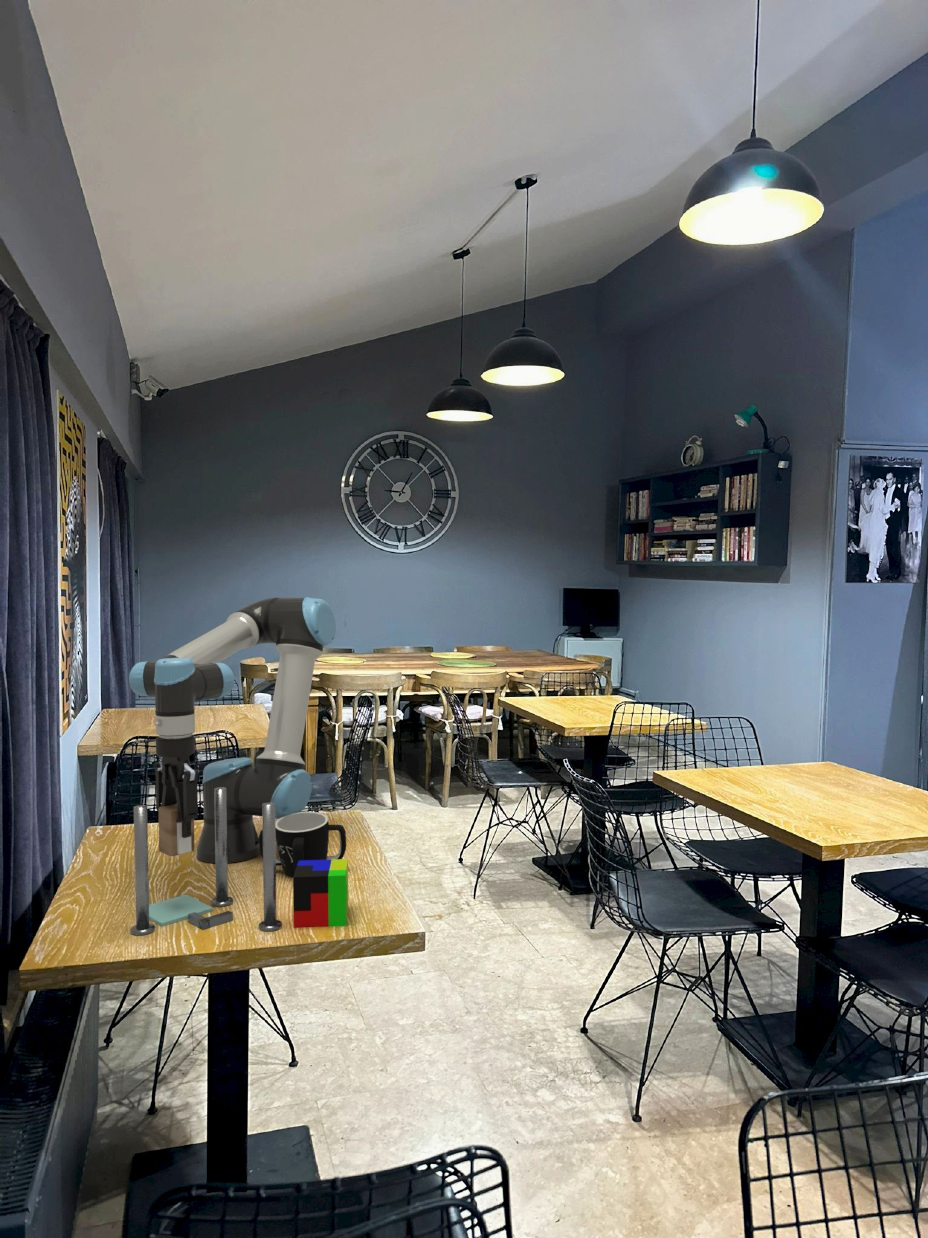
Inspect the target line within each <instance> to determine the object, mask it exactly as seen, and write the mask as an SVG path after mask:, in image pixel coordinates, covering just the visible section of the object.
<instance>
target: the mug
mask: <svg viewBox="0 0 928 1238" xmlns="http://www.w3.org/2000/svg"><path fill="white" fill-rule="evenodd" d="M329 823H330V822H329V817H328V816H327V815H326V814H323V813H320V812H317V811H301V812H298V813H293V814H290V815H286V816H284V817H281V818H280V819H276V820H275V835H276V850H277V853H278V857H279V858H276V867H277V866H281V867H282V870H283V872H284V873H285V875H287V876H288V877H291V878H293V876H294V873H295V870H296V867H297V864H298V861H300V860H333V859H344V856H345V855H346V851H347V835H346V834H347V833H346V829H345V827H344V826H343V825H341V824H329ZM331 831H338V836H339V851H338V853H337V854H335V855H329V854H328V853H329V841H330V839H329V838H330V832H331ZM258 837H259V847H260V856H261V858H262V860H263V829H261V831H260V833H259V834H258Z"/></svg>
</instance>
